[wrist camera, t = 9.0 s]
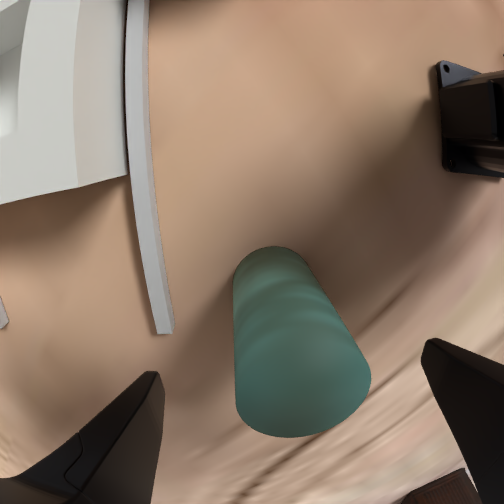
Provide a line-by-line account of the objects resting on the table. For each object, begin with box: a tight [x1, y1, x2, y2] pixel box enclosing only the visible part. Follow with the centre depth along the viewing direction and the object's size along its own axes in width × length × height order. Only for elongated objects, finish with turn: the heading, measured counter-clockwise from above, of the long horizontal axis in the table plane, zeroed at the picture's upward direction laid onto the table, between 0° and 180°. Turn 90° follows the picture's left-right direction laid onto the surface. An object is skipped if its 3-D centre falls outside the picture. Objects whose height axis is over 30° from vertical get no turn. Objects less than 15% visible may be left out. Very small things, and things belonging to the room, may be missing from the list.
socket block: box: [0, 0, 128, 204], centre depth 9 cm, size 11×11×5 cm
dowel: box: [233, 246, 371, 438], centre depth 12 cm, size 4×4×8 cm
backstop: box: [0, 0, 175, 334], centre depth 10 cm, size 26×21×5 cm
